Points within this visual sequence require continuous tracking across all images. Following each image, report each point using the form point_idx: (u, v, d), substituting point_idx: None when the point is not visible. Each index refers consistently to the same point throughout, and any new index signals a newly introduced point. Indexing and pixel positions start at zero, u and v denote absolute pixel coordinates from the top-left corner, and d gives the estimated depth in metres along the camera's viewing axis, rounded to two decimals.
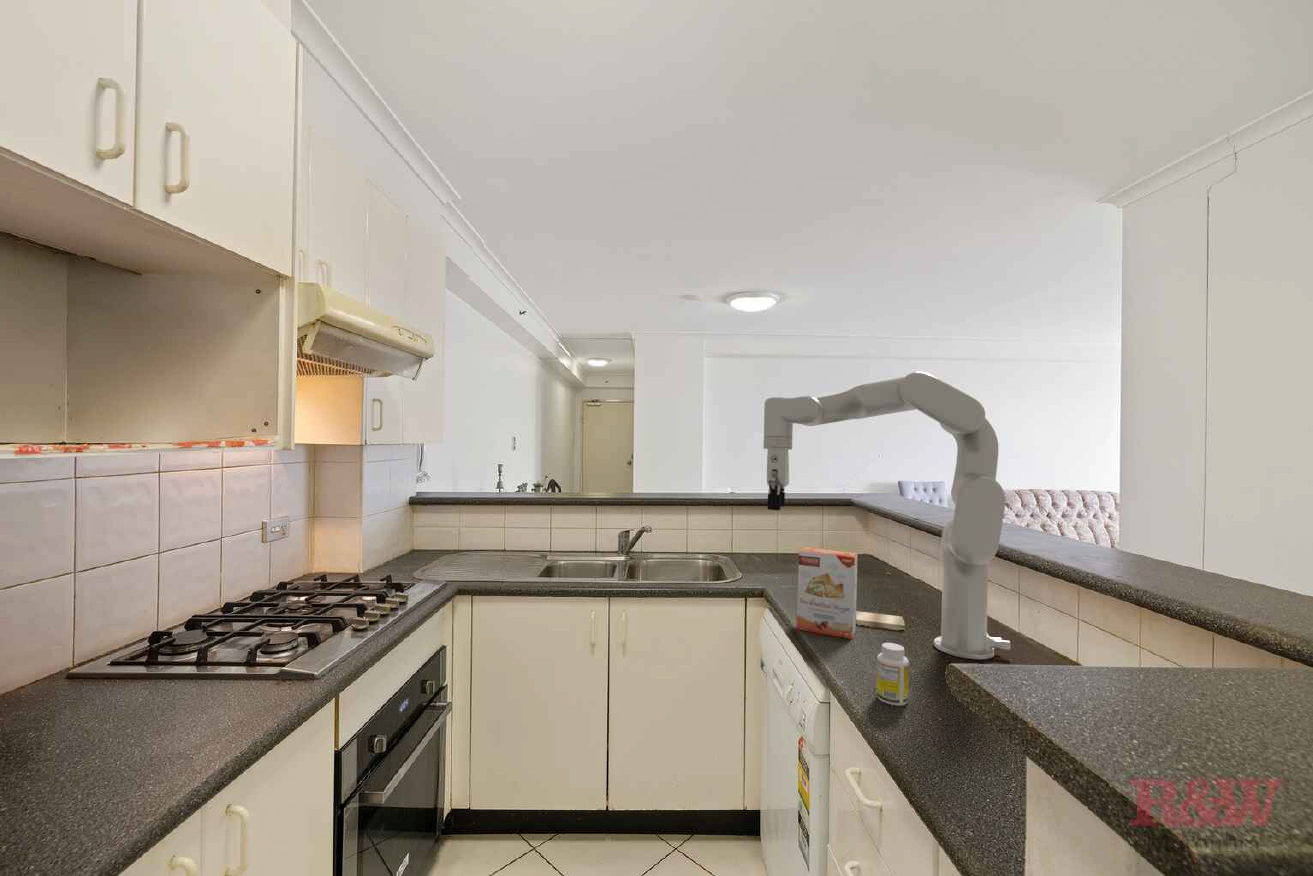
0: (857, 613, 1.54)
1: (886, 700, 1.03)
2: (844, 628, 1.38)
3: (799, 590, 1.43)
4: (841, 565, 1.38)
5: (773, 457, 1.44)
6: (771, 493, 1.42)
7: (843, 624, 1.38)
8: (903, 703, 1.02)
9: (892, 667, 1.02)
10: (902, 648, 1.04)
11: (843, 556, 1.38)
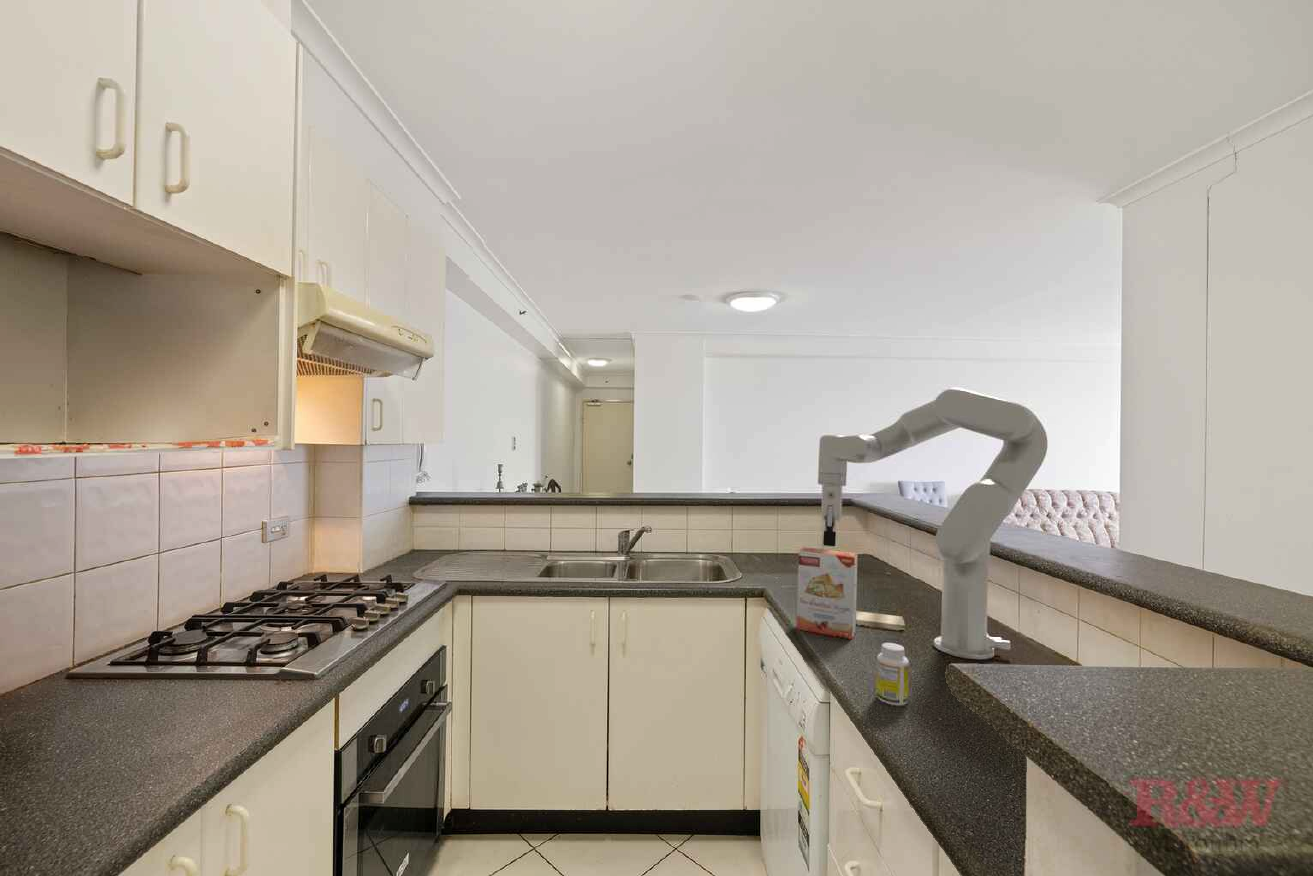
0: (857, 613, 1.54)
1: (886, 700, 1.03)
2: (844, 628, 1.38)
3: (799, 590, 1.43)
4: (841, 565, 1.38)
5: (828, 493, 1.49)
6: (827, 530, 1.52)
7: (843, 624, 1.38)
8: (903, 703, 1.02)
9: (892, 667, 1.02)
10: (902, 648, 1.04)
11: (843, 556, 1.38)
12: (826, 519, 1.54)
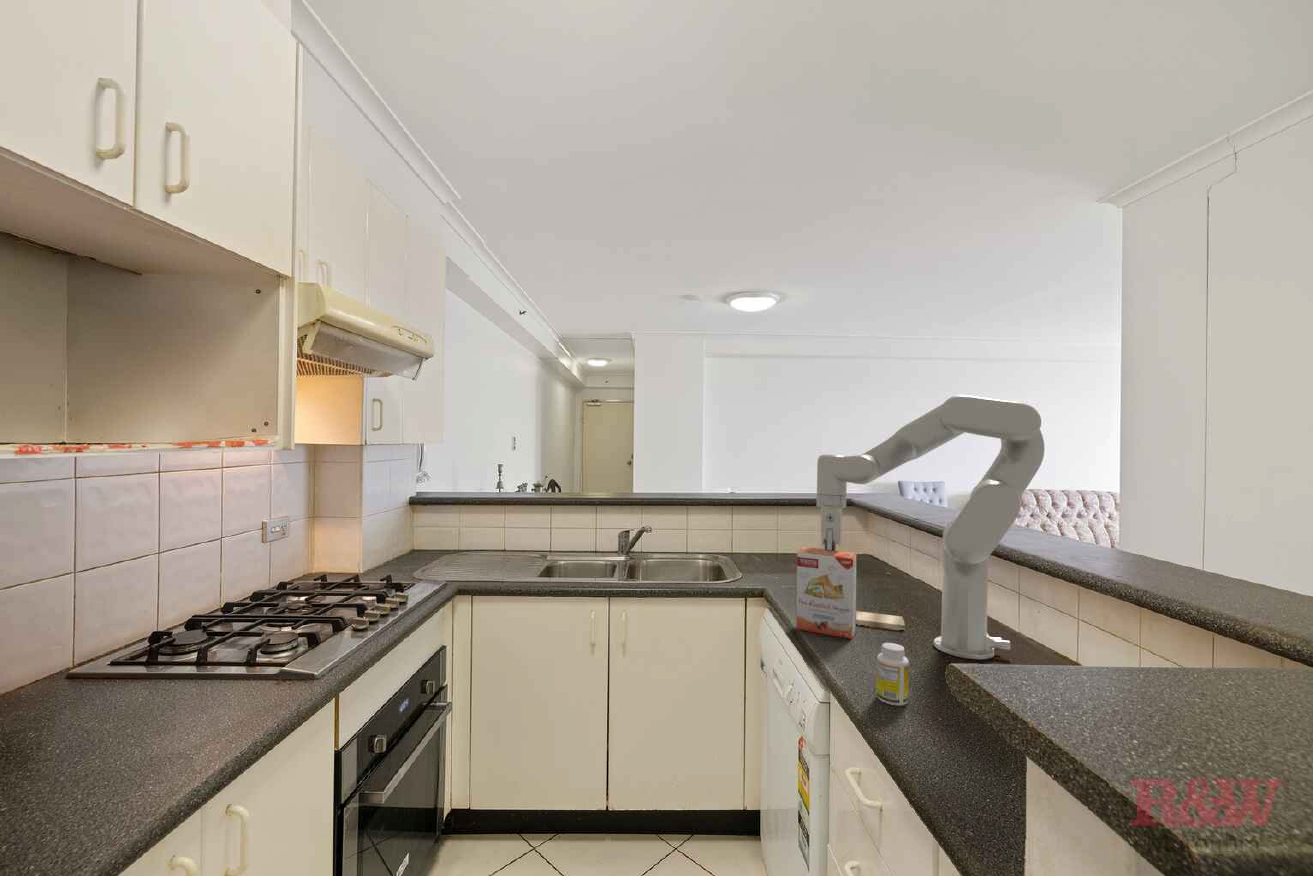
0: (857, 613, 1.54)
1: (886, 700, 1.03)
2: (844, 628, 1.37)
3: (798, 591, 1.42)
4: (840, 567, 1.37)
5: (828, 516, 1.43)
6: None
7: (843, 624, 1.37)
8: (903, 703, 1.02)
9: (892, 667, 1.02)
10: (902, 648, 1.04)
11: (842, 558, 1.36)
12: (826, 542, 1.47)
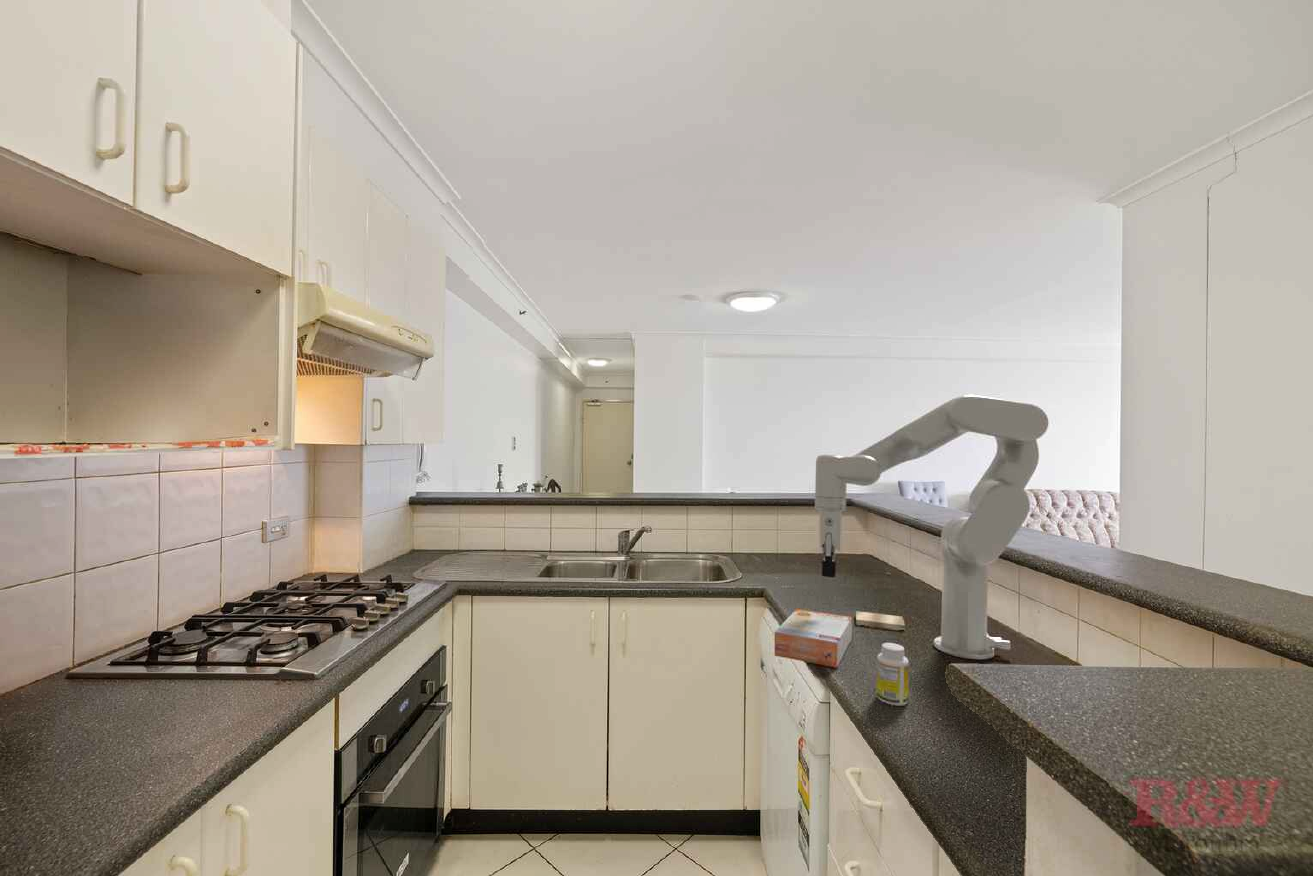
0: (857, 613, 1.54)
1: (886, 700, 1.03)
2: None
3: None
4: None
5: (826, 519, 1.36)
6: (826, 560, 1.38)
7: None
8: (903, 703, 1.02)
9: (892, 667, 1.02)
10: (902, 648, 1.04)
11: (824, 664, 1.20)
12: (825, 547, 1.41)
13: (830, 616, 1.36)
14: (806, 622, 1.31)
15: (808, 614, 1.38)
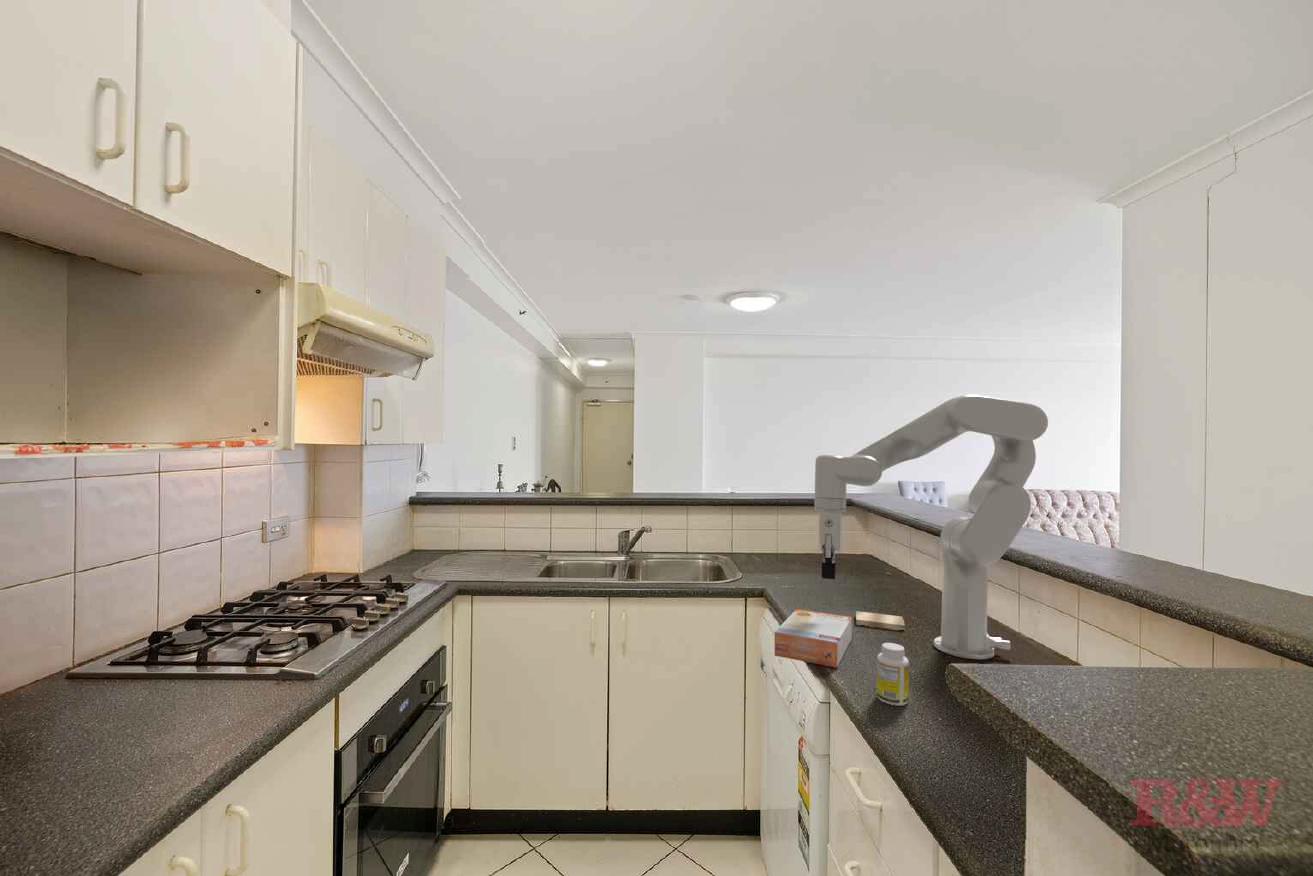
0: (857, 613, 1.54)
1: (886, 700, 1.03)
2: None
3: None
4: None
5: (826, 520, 1.34)
6: (826, 561, 1.36)
7: None
8: (903, 703, 1.02)
9: (892, 667, 1.02)
10: (902, 648, 1.04)
11: (824, 664, 1.20)
12: (824, 548, 1.39)
13: (830, 616, 1.36)
14: (806, 622, 1.31)
15: (808, 614, 1.38)
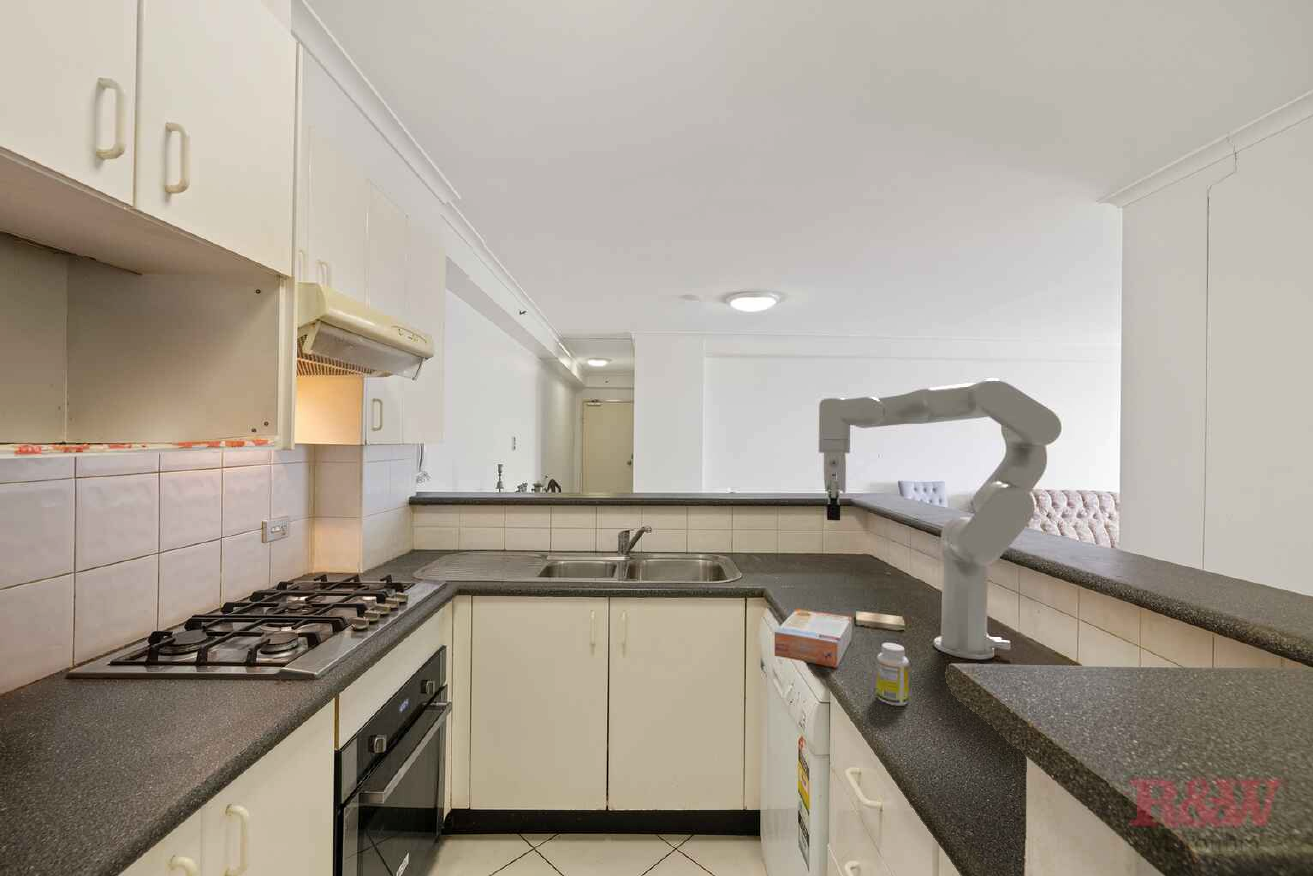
0: (857, 613, 1.54)
1: (886, 700, 1.03)
2: None
3: None
4: None
5: (831, 461, 1.36)
6: (831, 503, 1.38)
7: None
8: (903, 703, 1.02)
9: (892, 667, 1.02)
10: (902, 648, 1.04)
11: (824, 664, 1.20)
12: None
13: (830, 616, 1.36)
14: (806, 622, 1.31)
15: (808, 614, 1.38)
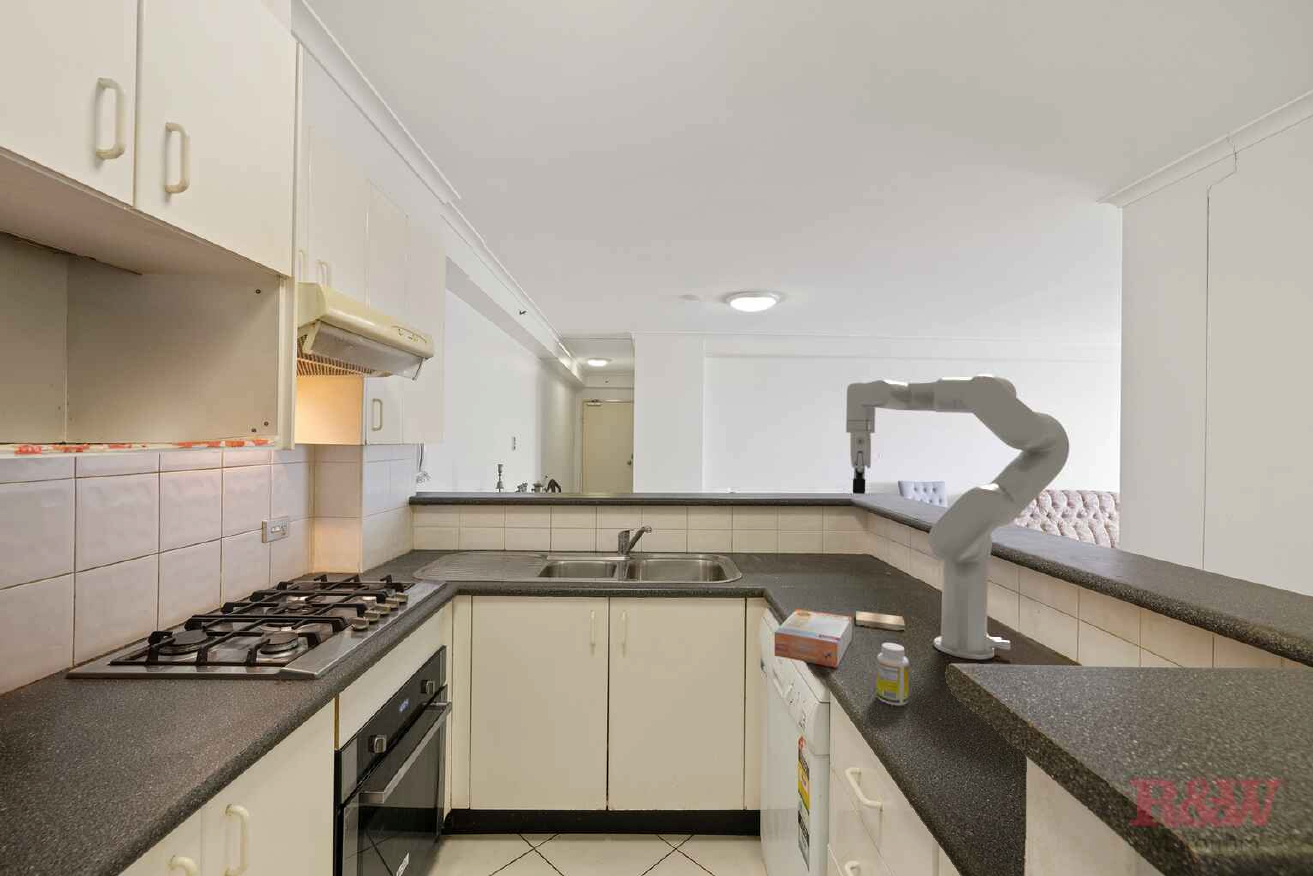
0: (857, 613, 1.54)
1: (886, 700, 1.03)
2: None
3: None
4: None
5: (858, 440, 1.50)
6: (857, 478, 1.52)
7: None
8: (903, 703, 1.02)
9: (892, 667, 1.02)
10: (902, 648, 1.04)
11: (824, 664, 1.20)
12: None
13: (830, 616, 1.36)
14: (806, 622, 1.31)
15: (808, 614, 1.38)
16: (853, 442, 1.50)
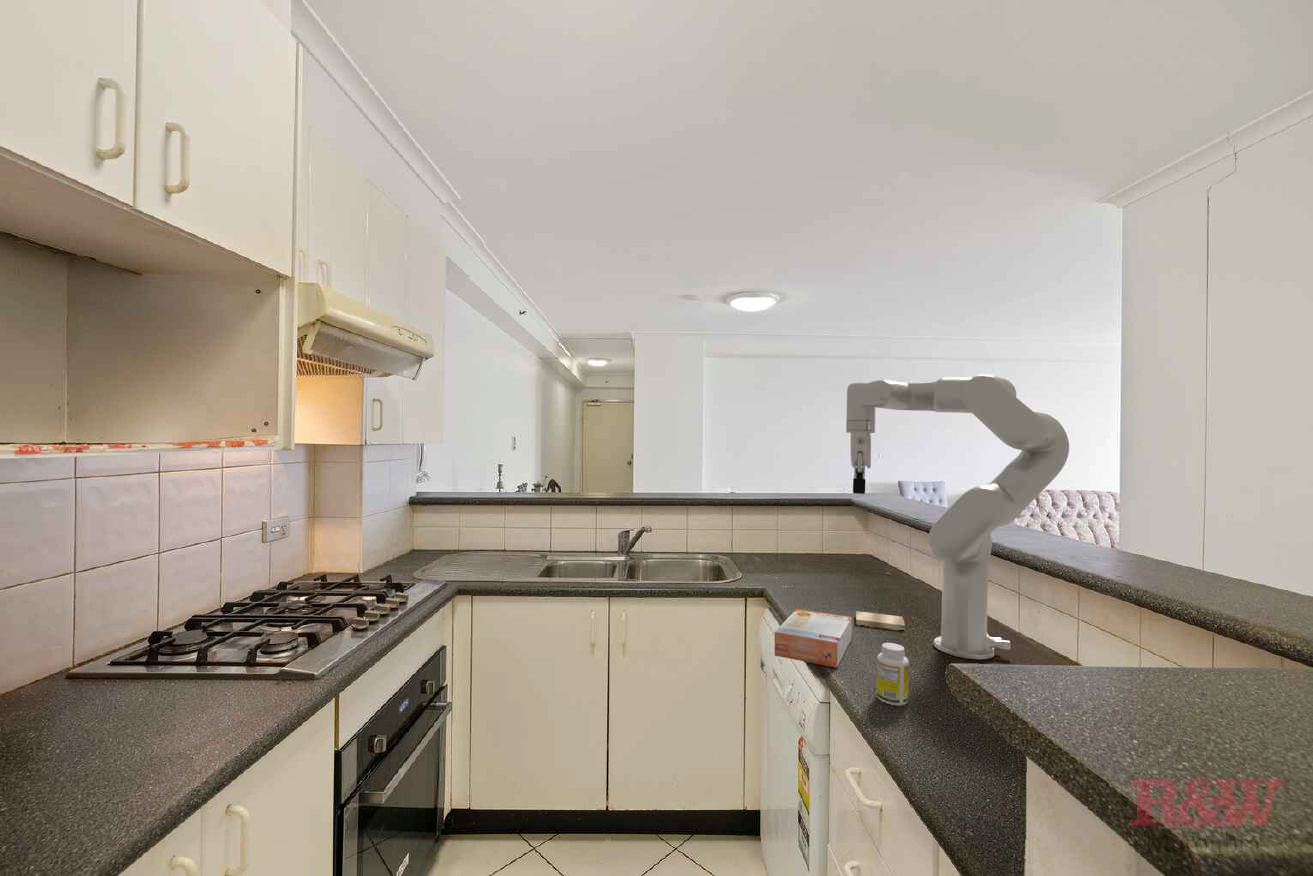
0: (857, 613, 1.54)
1: (886, 700, 1.03)
2: None
3: None
4: None
5: (858, 440, 1.50)
6: (857, 478, 1.52)
7: None
8: (903, 703, 1.02)
9: (892, 667, 1.02)
10: (902, 648, 1.04)
11: (824, 664, 1.20)
12: None
13: (830, 616, 1.36)
14: (806, 622, 1.31)
15: (808, 614, 1.38)
16: (853, 442, 1.50)
